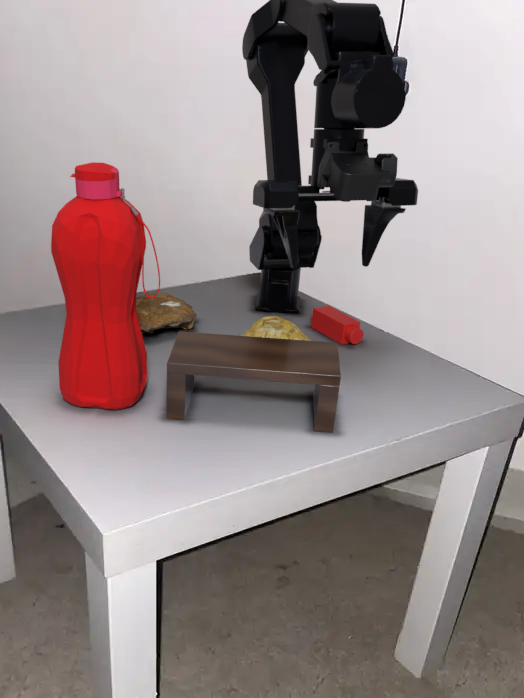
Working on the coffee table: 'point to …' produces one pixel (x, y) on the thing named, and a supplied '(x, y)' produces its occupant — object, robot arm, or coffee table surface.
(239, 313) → the coffee table surface
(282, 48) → the robot arm
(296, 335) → the fossil
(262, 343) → the shelf
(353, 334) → the red square bottle
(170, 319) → the decorative rock
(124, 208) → the water bottle
